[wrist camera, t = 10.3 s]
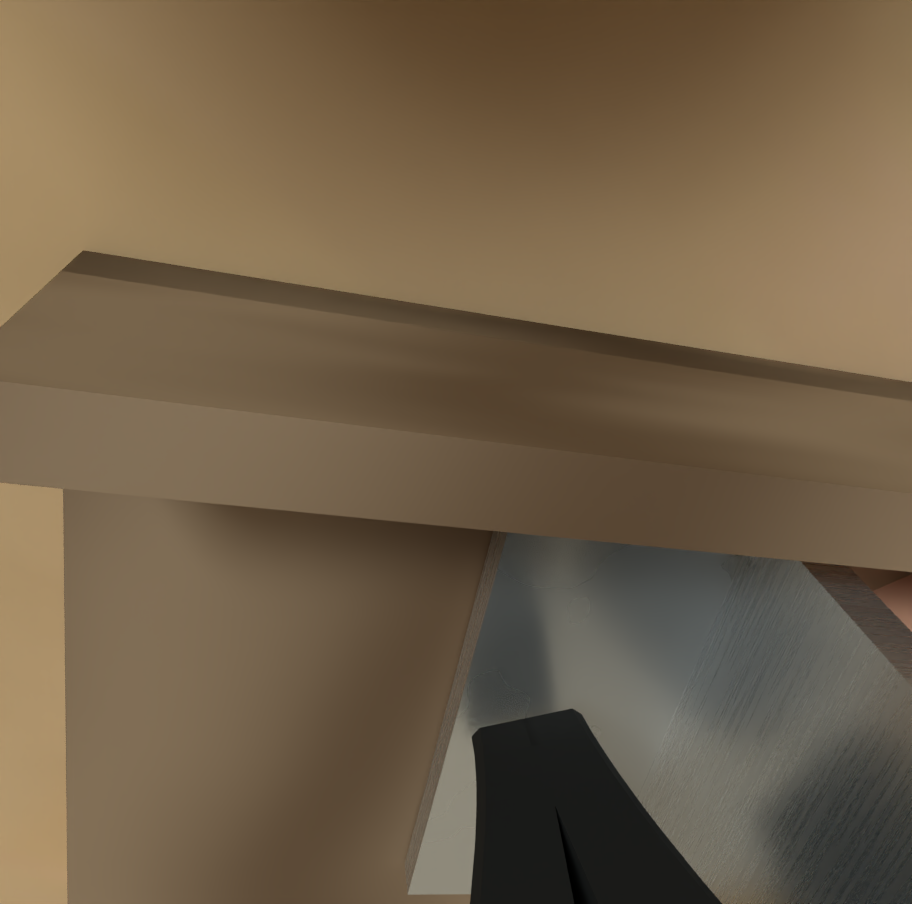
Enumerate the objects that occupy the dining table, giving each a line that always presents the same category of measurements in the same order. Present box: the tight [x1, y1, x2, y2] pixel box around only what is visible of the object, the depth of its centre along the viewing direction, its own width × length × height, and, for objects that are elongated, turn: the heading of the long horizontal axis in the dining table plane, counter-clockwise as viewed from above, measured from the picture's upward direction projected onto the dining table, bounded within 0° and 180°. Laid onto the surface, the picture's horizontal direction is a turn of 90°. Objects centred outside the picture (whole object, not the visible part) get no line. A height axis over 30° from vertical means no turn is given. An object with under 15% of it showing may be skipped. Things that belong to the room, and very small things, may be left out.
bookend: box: [405, 531, 912, 904], centre depth 9 cm, size 4×7×5 cm, turn 168°
